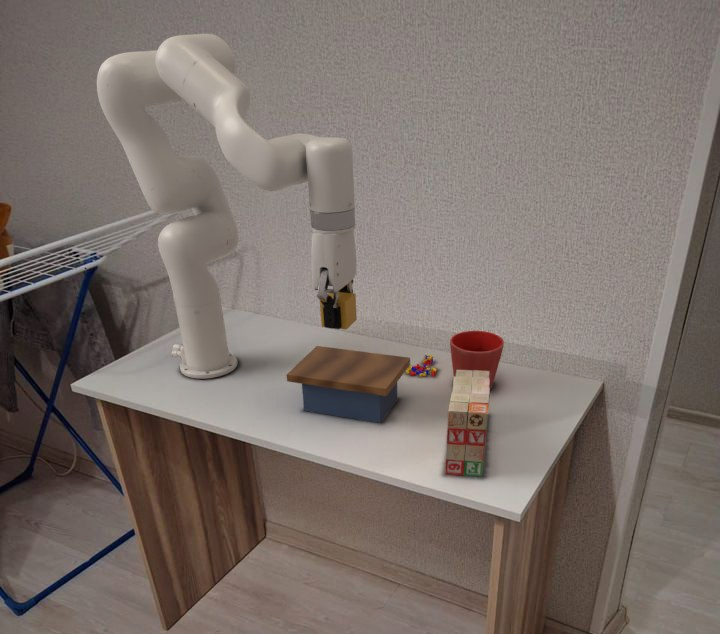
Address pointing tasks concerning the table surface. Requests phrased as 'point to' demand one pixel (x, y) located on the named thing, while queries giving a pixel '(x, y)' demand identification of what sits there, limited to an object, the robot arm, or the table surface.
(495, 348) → the flower pot
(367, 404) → the blue box
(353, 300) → the mustard block
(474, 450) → the stack of blocks
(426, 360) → the building blocks
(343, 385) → the wooden board
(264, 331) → the table surface
